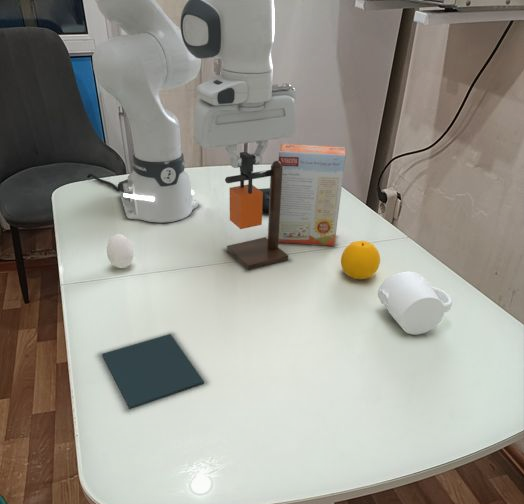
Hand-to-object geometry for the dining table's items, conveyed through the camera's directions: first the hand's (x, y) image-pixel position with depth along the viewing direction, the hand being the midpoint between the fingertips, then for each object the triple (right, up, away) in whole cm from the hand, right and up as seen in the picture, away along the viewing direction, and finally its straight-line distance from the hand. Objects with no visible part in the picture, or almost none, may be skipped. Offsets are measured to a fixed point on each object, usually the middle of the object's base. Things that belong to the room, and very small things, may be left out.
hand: (246, 165), depth 100 cm
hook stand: (+1, -15, +13) cm, 20 cm away
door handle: (+12, +2, +36) cm, 38 cm away
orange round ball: (+23, -20, +9) cm, 32 cm away
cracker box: (+13, -10, +21) cm, 27 cm away
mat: (-15, -39, -17) cm, 45 cm away
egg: (-26, -19, +8) cm, 33 cm away
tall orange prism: (0, -9, +7) cm, 12 cm away
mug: (+31, -30, -4) cm, 44 cm away
